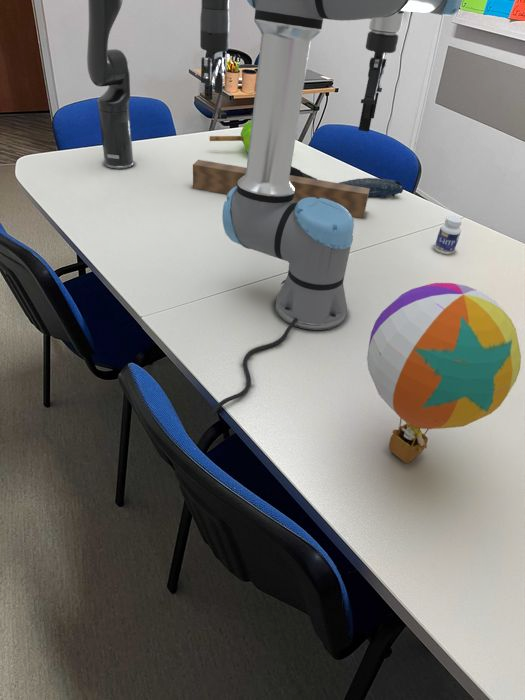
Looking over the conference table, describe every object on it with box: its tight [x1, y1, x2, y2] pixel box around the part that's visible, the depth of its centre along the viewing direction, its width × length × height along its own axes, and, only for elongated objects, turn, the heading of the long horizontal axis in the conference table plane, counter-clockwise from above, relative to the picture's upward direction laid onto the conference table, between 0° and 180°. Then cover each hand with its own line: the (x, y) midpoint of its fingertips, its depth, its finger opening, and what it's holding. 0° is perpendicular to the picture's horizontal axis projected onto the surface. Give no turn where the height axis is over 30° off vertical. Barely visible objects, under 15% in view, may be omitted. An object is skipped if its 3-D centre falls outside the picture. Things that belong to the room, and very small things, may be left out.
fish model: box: [338, 177, 404, 198], centre depth 166 cm, size 7×21×5 cm, turn 84°
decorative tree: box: [209, 120, 252, 153], centre depth 187 cm, size 18×10×30 cm
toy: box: [366, 282, 522, 464], centre depth 73 cm, size 20×20×30 cm
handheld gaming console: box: [290, 165, 318, 180], centre depth 171 cm, size 12×7×10 cm
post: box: [192, 159, 370, 219], centre depth 156 cm, size 53×5×7 cm, turn 75°
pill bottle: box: [434, 215, 463, 255], centre depth 137 cm, size 5×5×9 cm
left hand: (213, 96), depth 145 cm, fingers open, 8 cm apart
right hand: (366, 124), depth 139 cm, fingers open, 13 cm apart
